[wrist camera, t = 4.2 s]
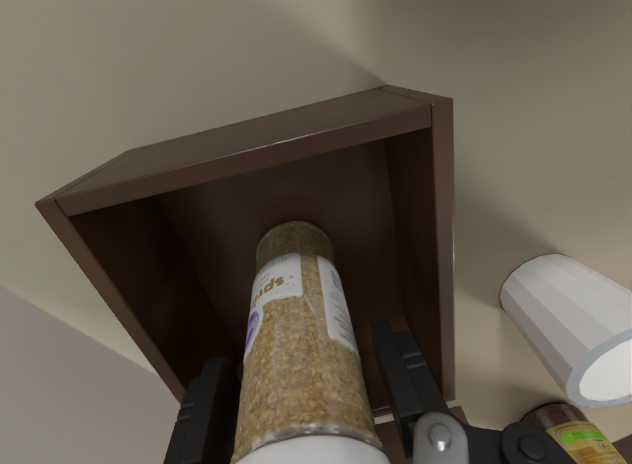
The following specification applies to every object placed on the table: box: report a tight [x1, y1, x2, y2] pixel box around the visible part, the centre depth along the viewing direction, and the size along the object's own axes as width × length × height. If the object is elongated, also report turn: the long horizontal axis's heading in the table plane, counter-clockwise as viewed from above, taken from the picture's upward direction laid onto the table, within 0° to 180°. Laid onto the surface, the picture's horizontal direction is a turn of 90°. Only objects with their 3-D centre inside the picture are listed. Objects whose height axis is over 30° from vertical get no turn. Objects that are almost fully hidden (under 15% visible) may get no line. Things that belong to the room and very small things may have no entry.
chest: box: [35, 85, 455, 418], centre depth 16 cm, size 15×13×7 cm
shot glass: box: [500, 254, 632, 408], centre depth 20 cm, size 7×7×7 cm
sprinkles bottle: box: [230, 221, 391, 464], centre depth 13 cm, size 5×5×13 cm
